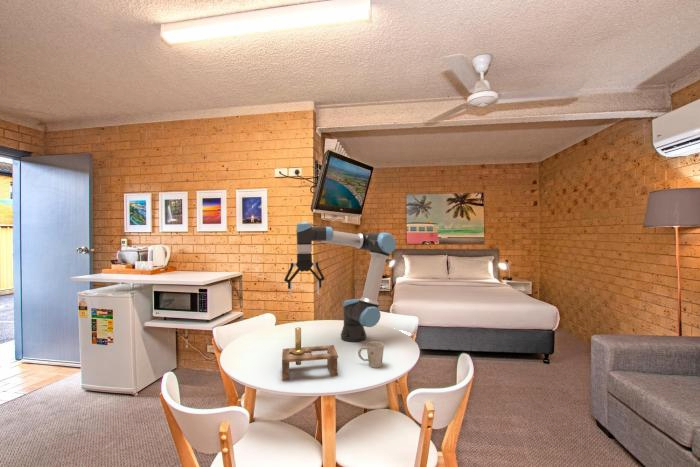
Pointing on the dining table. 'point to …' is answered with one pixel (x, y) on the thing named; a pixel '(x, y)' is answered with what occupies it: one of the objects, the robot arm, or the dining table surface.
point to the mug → (373, 353)
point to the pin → (298, 345)
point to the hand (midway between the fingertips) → (304, 294)
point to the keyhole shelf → (310, 358)
